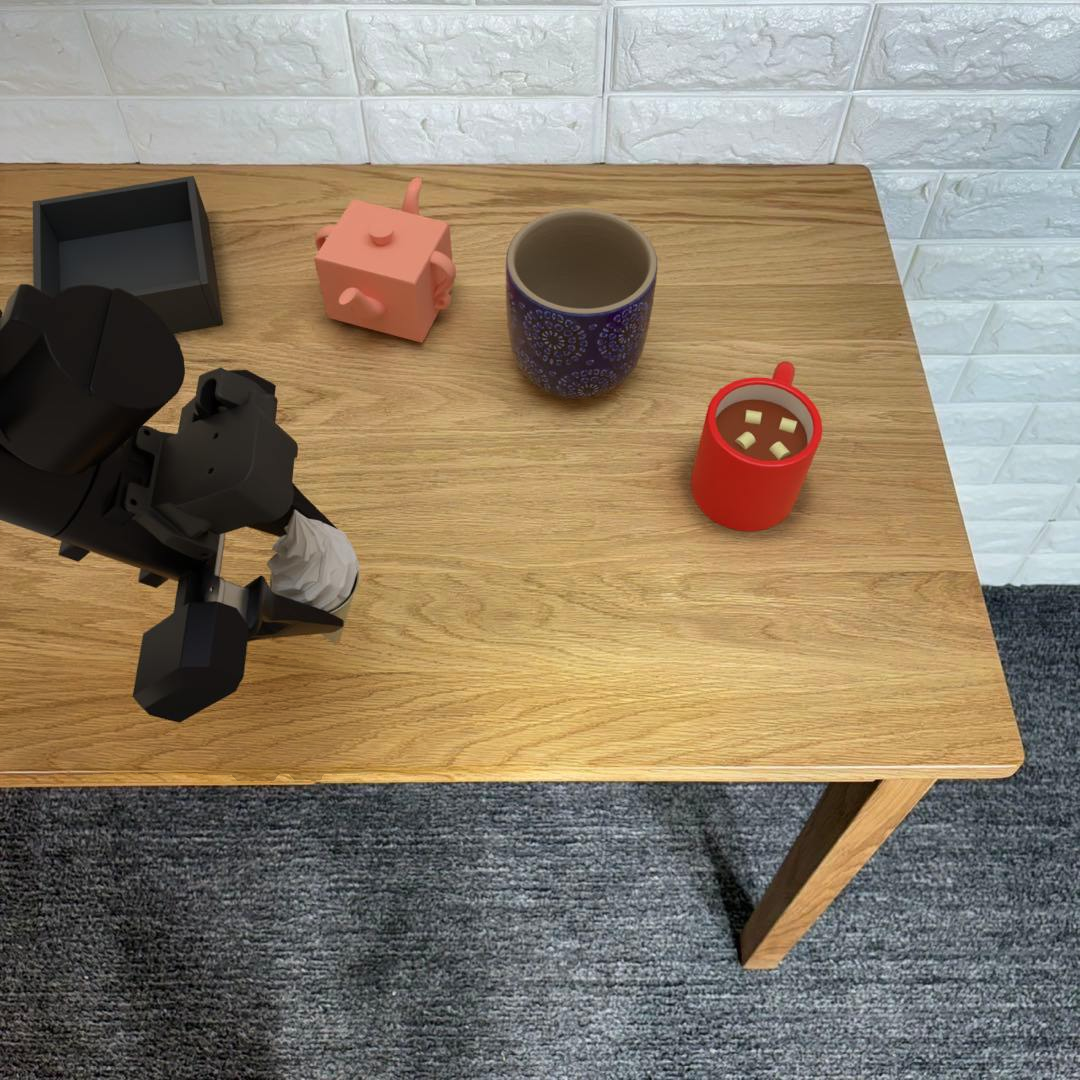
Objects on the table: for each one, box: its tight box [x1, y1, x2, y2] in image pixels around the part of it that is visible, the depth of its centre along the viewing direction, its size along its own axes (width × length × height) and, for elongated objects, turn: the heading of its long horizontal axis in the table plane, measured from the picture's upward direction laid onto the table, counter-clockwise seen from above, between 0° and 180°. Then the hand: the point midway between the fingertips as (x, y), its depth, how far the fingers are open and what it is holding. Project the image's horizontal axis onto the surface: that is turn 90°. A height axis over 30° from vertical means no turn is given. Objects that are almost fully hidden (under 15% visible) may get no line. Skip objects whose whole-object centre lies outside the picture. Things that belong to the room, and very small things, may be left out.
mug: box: [690, 360, 824, 532], centre depth 72 cm, size 8×12×8 cm, turn 160°
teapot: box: [313, 177, 457, 343], centre depth 80 cm, size 12×15×8 cm
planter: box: [505, 207, 658, 400], centre depth 76 cm, size 11×11×11 cm
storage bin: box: [32, 175, 224, 334], centre depth 83 cm, size 13×13×5 cm
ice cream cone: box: [266, 510, 361, 645], centre depth 57 cm, size 5×5×15 cm
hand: (342, 585), depth 57 cm, fingers closed on ice cream cone, 5 cm apart
